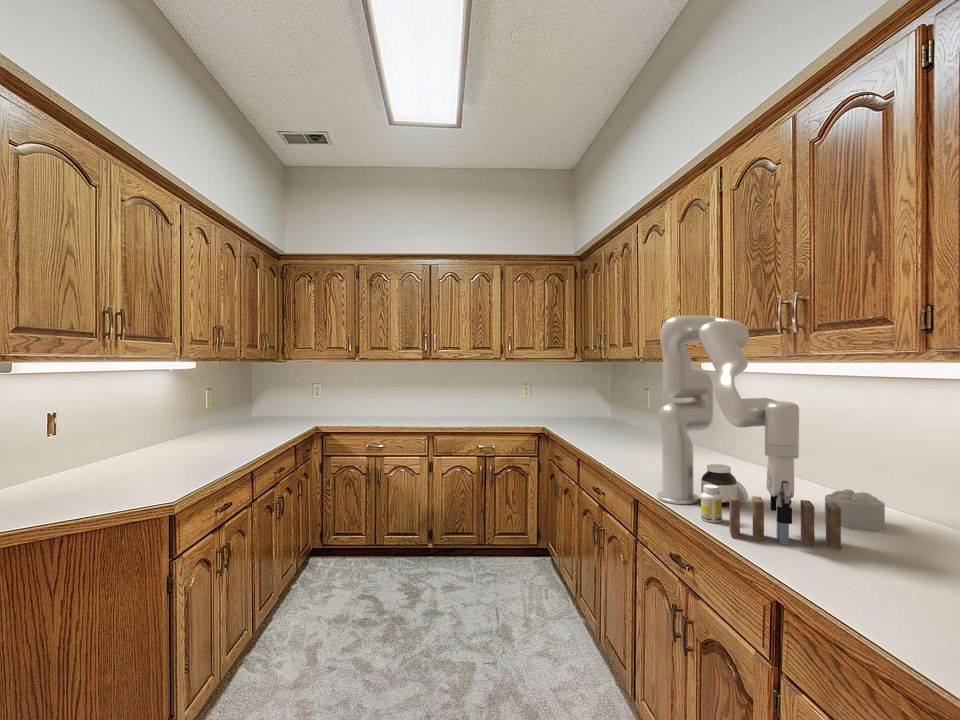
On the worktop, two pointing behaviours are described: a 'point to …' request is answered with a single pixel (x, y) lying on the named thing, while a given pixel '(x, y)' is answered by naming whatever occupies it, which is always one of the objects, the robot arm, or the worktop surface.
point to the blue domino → (782, 529)
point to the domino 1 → (734, 516)
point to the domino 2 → (758, 518)
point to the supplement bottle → (711, 504)
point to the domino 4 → (833, 525)
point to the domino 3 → (807, 523)
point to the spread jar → (723, 483)
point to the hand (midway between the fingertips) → (780, 516)
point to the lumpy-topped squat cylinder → (858, 510)
